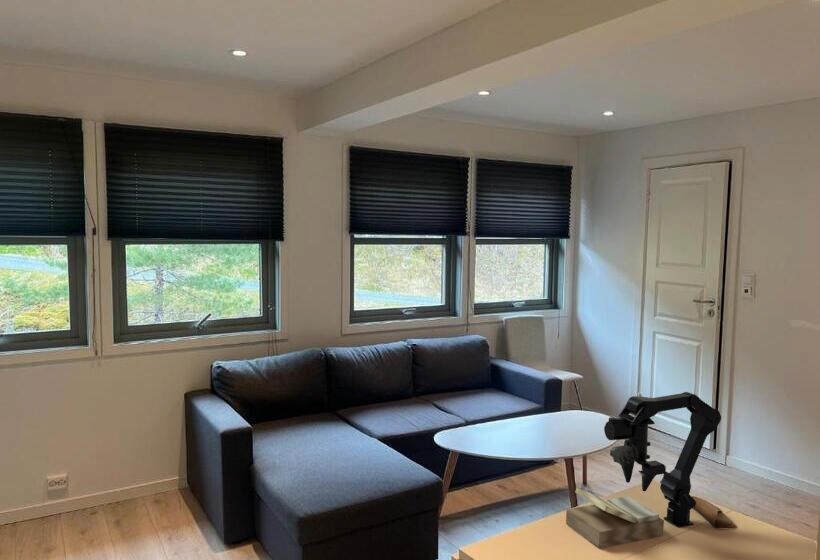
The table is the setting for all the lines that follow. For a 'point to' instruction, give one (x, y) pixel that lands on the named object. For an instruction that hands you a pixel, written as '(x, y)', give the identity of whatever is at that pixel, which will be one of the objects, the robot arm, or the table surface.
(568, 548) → the table surface
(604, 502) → the pale yellow square slab
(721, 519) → the sunglasses case
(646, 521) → the floor base
